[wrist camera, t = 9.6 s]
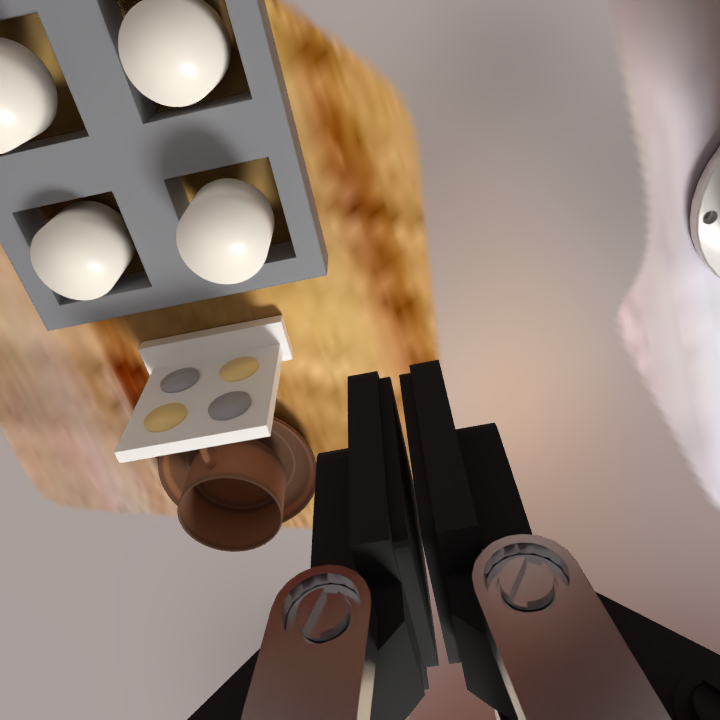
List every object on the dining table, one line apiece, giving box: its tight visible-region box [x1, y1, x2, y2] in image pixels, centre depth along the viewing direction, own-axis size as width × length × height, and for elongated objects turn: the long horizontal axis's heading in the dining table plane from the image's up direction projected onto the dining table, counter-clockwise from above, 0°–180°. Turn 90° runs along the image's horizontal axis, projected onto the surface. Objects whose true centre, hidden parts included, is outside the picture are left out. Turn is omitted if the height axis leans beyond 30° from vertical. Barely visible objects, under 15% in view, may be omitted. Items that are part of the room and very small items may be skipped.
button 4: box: [30, 201, 135, 300], centre depth 37 cm, size 5×5×4 cm
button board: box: [0, 0, 328, 331], centre depth 36 cm, size 18×18×3 cm
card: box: [114, 315, 293, 463], centre depth 40 cm, size 10×3×10 cm, turn 102°
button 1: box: [118, 0, 231, 107], centre depth 32 cm, size 5×5×4 cm
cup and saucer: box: [158, 417, 316, 552], centre depth 47 cm, size 12×12×6 cm
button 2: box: [176, 178, 274, 284], centre depth 35 cm, size 5×5×4 cm
